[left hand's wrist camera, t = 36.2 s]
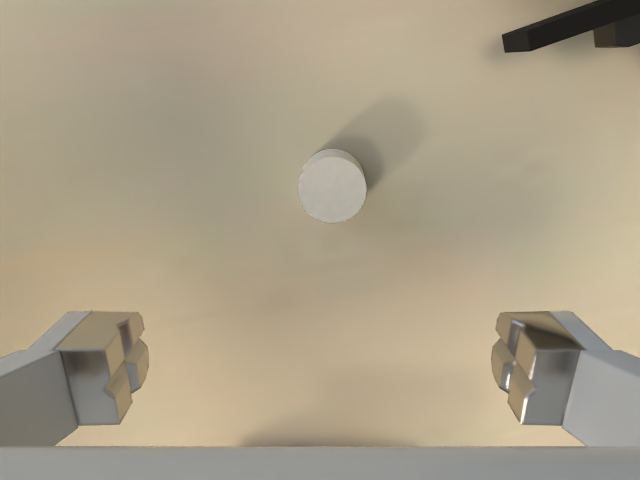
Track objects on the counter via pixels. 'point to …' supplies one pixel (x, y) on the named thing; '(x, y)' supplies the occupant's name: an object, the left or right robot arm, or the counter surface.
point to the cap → (332, 186)
